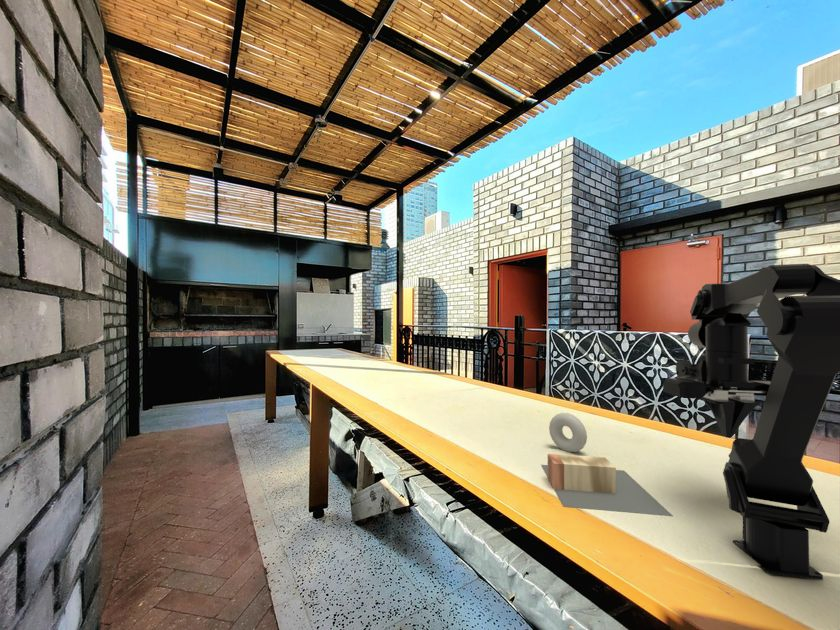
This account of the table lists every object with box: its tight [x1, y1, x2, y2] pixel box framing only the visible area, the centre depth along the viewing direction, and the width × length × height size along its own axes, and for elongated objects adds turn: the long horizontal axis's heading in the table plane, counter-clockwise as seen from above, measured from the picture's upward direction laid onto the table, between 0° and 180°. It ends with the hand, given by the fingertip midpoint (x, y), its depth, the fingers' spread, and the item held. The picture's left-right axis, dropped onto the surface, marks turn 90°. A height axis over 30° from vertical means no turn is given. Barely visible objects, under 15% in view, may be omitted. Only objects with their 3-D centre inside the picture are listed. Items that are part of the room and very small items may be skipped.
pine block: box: [547, 453, 617, 494], centre depth 68 cm, size 5×5×12 cm
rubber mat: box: [540, 464, 674, 517], centre depth 67 cm, size 18×18×1 cm
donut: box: [548, 412, 588, 453], centre depth 87 cm, size 10×4×10 cm, turn 36°
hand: (726, 436), depth 61 cm, fingers closed
